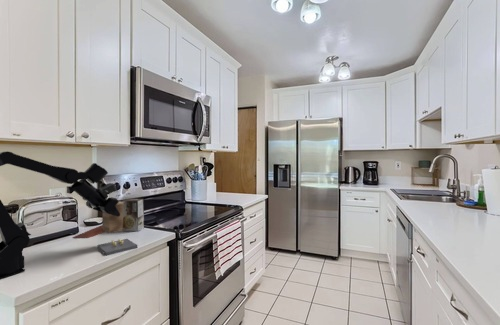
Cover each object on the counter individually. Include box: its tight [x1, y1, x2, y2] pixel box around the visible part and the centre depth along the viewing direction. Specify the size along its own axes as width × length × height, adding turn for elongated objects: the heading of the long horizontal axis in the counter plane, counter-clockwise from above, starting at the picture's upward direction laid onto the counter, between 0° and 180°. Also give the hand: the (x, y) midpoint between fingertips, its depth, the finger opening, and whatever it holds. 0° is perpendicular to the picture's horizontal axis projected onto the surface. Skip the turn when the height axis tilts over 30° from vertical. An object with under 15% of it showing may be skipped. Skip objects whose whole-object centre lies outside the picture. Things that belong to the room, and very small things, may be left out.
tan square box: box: [101, 200, 124, 234], centre depth 109 cm, size 6×6×12 cm
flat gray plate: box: [97, 238, 138, 256], centre depth 107 cm, size 12×12×3 cm
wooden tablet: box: [72, 225, 106, 239], centre depth 132 cm, size 27×10×2 cm, turn 172°
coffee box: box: [121, 198, 145, 232], centre depth 135 cm, size 9×6×16 cm
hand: (116, 214), depth 110 cm, fingers closed on tan square box, 6 cm apart
